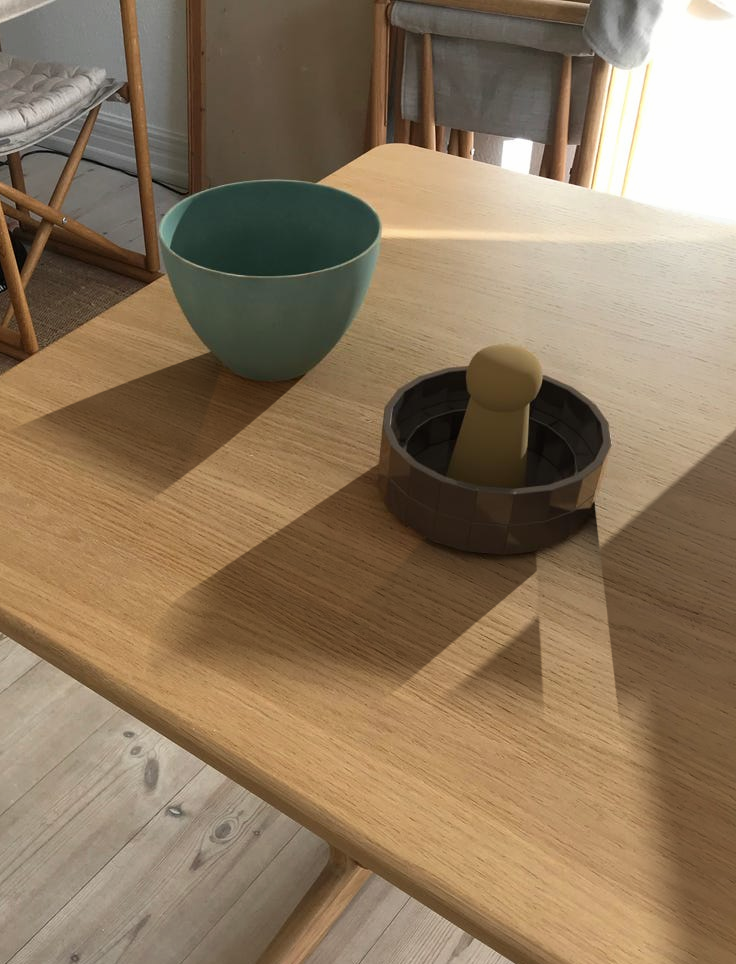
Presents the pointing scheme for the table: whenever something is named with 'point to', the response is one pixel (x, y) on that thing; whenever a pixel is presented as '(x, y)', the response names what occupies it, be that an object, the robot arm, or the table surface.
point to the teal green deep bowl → (270, 271)
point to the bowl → (490, 510)
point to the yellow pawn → (496, 418)
